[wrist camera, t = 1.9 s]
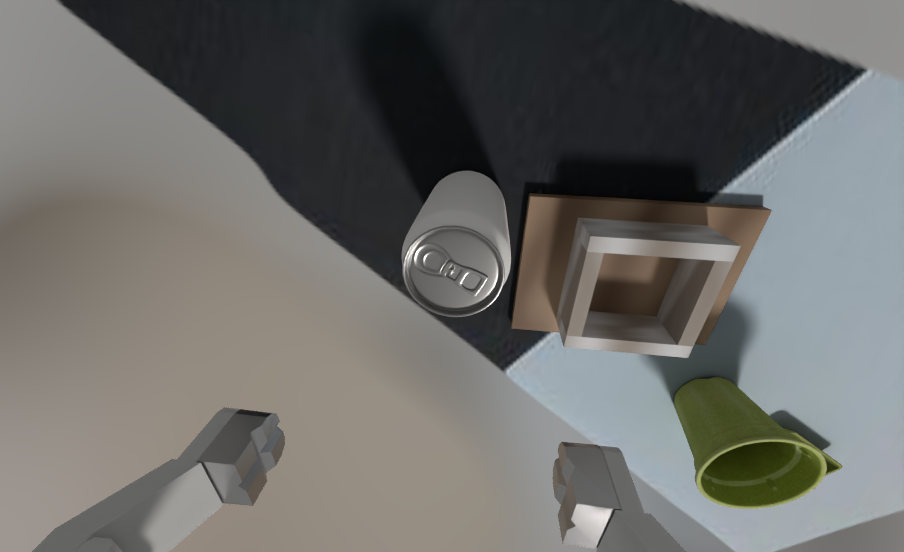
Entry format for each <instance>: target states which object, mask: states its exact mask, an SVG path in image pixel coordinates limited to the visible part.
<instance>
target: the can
mask: <svg viewBox="0 0 904 552" xmlns="http://www.w3.org/2000/svg"><path fill="white" fill-rule="evenodd" d="M510 265H511V251H510V241H509V232H508V223H507V215H506V208H505V202H504V198H503V195H502V193H501V191H500V189H499V188H498V186H497V185H496V184H495V183H494V182H493V181H492V180H491V179H490V178H488V177H487V176H485V175H483V174H481V173H478V172H474V171H459V172H455V173H452V174H450V175H448V176H446V177H445V178H443V179H442V180H441V181H439V182H438V183H437V185H436V186H435V187H434V189H433V190H432V192H431V194H430V195H429V197H428V199H427V200H426V202H425V204H424V206H423V207H422V209H421V211H420V212H419V214H418V216H417V218H416V219H415V221H414V223H413V225H412V226H411V228H410V230H409V232H408V234H407V236H406V238H405V241H404V245H403V249H402V273H403V279H404V282H405V285H406V287H407V289H408V291H409V293H410V294H411V295H412V297H413V298H414V299H415V300H416V301H417V302H418V303H419V304H420V305H422V306H423V307H424V308H426V309H428V310H430V311H432V312H434V313H436V314H439V315H443V316H449V317H463V316H469V315H473V314H476V313H478V312H480V311H482V310H484V309H485V308H487V307H488V306H489V305H491V304H492V303H493V302H494V301H495V299H496V298H497V297H498V295H499V294H500V292H501V290H502V287H503V285H504V283H505V282H506V280H507V277H508V274H509V271H510Z"/></svg>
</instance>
